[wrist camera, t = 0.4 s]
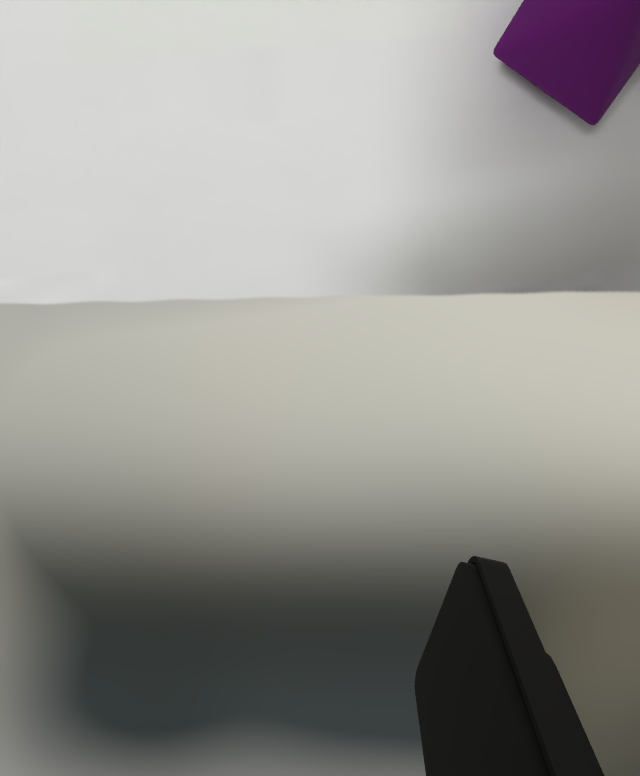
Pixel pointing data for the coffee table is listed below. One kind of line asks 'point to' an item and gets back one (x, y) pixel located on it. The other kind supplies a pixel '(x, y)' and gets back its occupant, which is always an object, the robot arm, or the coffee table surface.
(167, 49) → the coffee table surface
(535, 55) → the perfume bottle
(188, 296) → the coffee table surface
